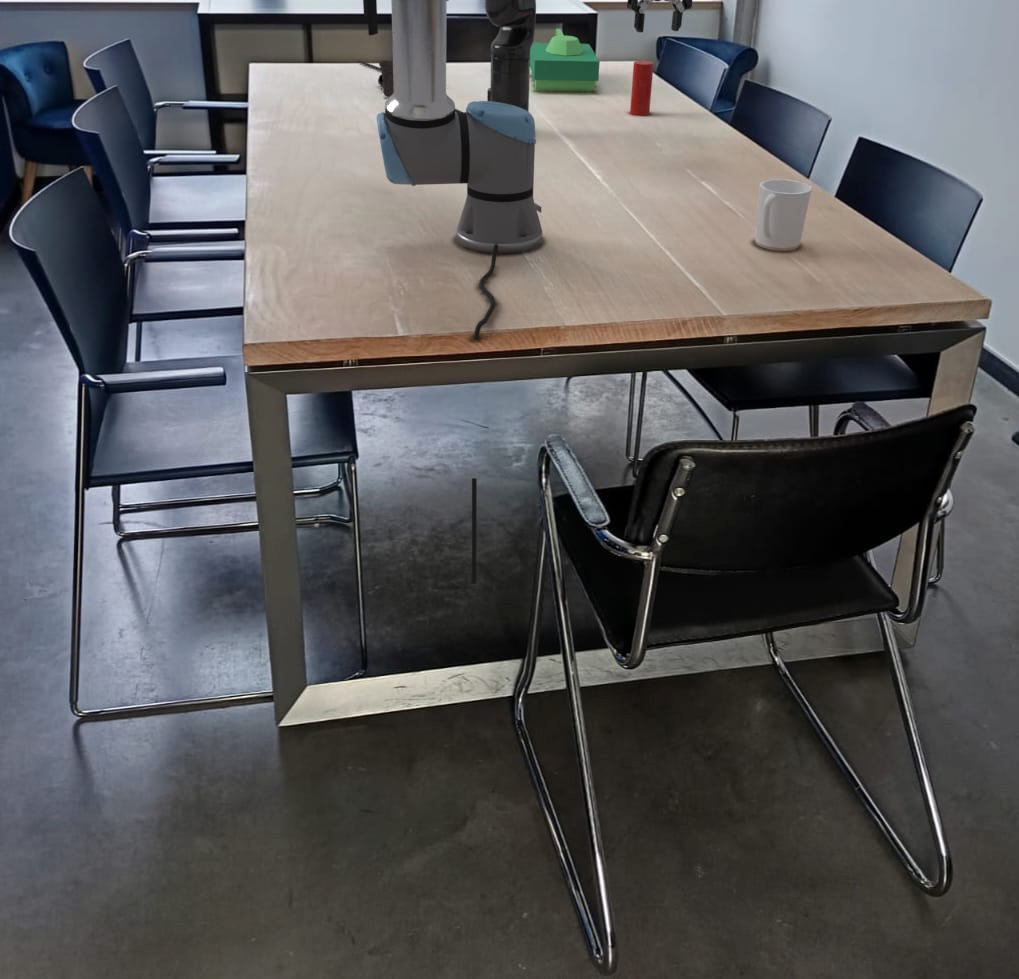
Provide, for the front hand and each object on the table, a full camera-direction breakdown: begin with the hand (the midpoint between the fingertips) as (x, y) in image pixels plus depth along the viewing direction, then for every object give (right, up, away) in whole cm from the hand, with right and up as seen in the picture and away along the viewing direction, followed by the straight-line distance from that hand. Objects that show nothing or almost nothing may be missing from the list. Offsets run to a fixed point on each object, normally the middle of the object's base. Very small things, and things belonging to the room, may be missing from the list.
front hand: (404, 37), depth 215 cm
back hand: (+52, +10, +20) cm, 57 cm away
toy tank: (+35, +29, +101) cm, 111 cm away
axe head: (-9, +20, +85) cm, 88 cm away
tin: (+54, +9, +68) cm, 88 cm away
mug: (+68, -45, -19) cm, 84 cm away
